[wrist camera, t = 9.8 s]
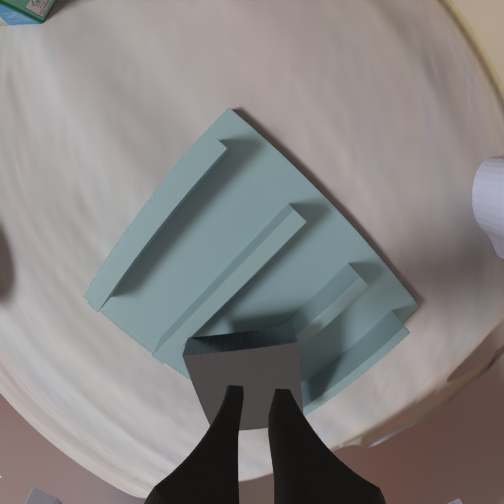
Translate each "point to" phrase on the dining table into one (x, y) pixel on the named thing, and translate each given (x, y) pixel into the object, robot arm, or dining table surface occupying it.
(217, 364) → the panel
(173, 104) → the dining table surface
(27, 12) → the milk carton
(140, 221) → the slot rack
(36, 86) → the dining table surface
